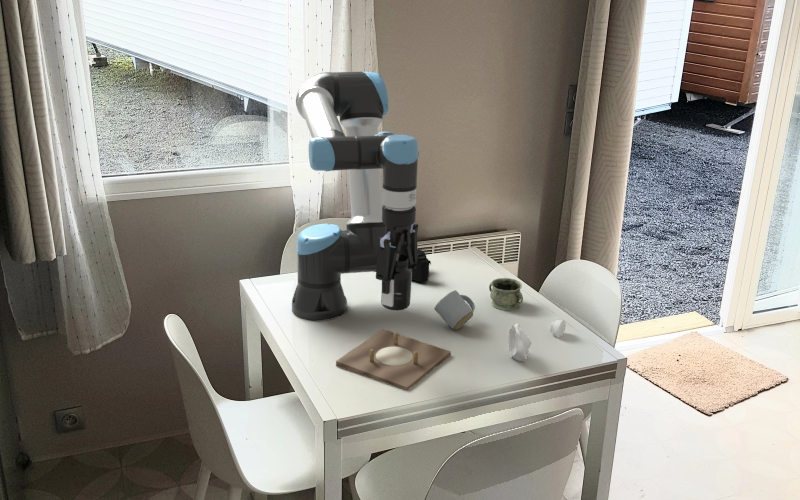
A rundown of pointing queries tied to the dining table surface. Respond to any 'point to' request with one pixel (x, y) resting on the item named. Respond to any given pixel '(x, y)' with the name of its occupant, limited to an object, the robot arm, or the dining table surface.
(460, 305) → the ceramic mug
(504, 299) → the vessel
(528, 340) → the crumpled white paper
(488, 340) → the dining table surface
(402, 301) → the supplement bottle
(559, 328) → the white irregular lump
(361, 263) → the robot arm
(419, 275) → the film camera
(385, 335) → the pin board
